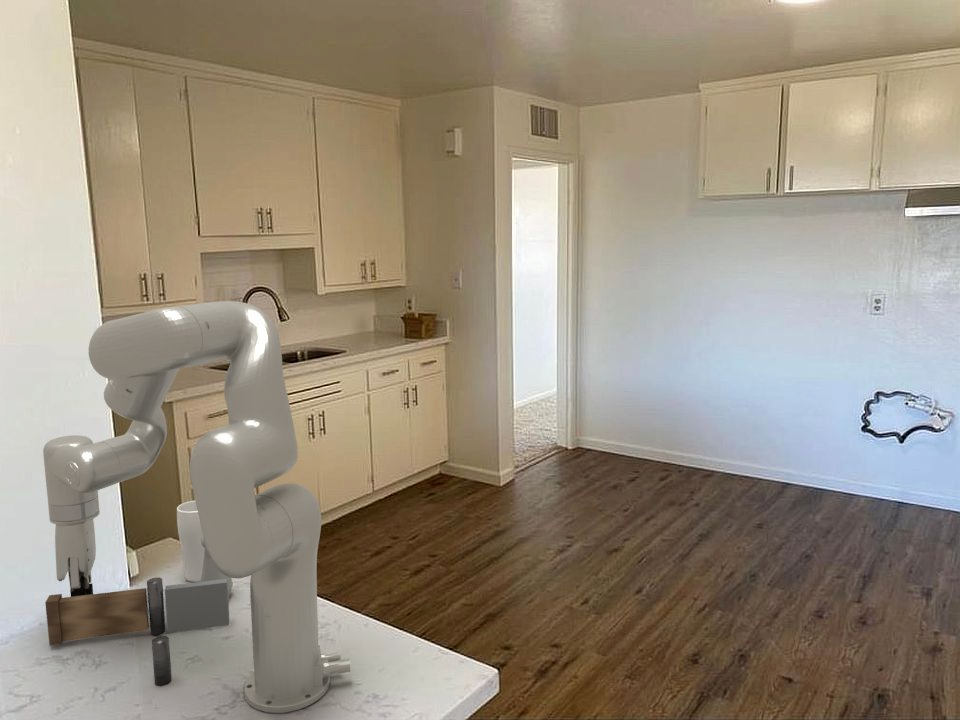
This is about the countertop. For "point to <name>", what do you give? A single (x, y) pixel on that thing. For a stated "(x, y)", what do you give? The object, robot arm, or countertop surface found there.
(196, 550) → the drinking glass
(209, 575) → the salt shaker
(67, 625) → the gate
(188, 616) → the grey rectangular slab
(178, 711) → the countertop surface
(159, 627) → the hinge post
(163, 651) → the post
